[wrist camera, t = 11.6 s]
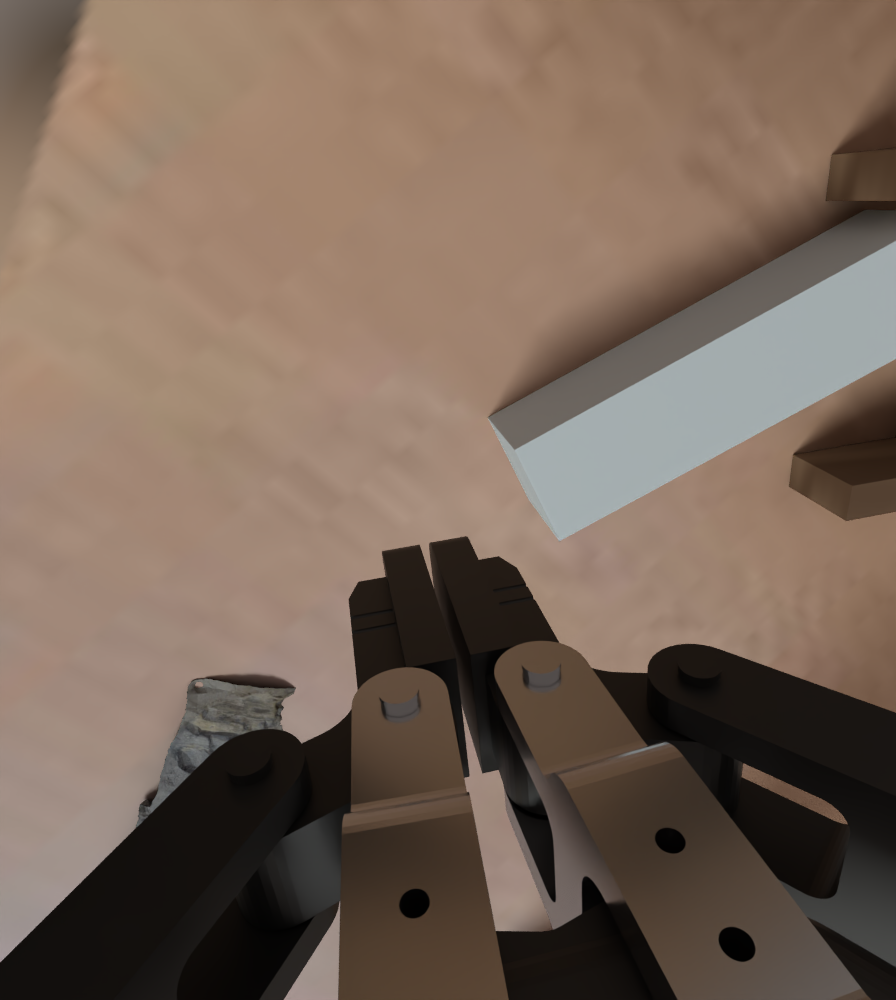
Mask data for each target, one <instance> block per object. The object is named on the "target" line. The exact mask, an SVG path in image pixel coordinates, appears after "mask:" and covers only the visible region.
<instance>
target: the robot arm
mask: <svg viewBox="0 0 896 1000" xmlns="http://www.w3.org/2000/svg"><path fill="white" fill-rule="evenodd" d="M429 550H430V559H431V567H432V576H433V584H434V588H433V585H432V582H431V578H430V575H429V572H428V569H427V566H426V563H425V560H424V557H423V554H422V550H421V547H420V545H415V546H409V547H404V548H398V549H392V550H387V551H382V556H383V563H384V569H385V576H386V577H383V578H377V579H372V580H366V581H361V582H358V584H357V585H356V587H355V589H354V591H353V592H352V594H351V596H350V598H349V607H350V617H351V627H352V637H353V647H354V657H355V667H356V677H357V687H358V691H357V692H356V694H355V696H354V698H353V701H352V709H351V711H350V712H349V713H348V715H347V716H346V717H345V718H344V719H343V720H342V721H341V722H340V723H338V724H337V725H336V726H334V727H333V728H331V729H330V730H328V731H326V732H325V733H323V734H321V735H319V736H317V737H314V738H312V739H310V740H308V741H306V742H304V743H302V744H301V742H300V741H299V740H298V739H297V738H296V737H295V736H293V735H292V734H290V733H288V732H286V731H282V730H278V729H260V730H254V731H250V732H247V733H244V734H241V735H239V736H236V737H234V738H232V739H231V740H229V741H227V742H225V743H224V744H222V745H221V746H220V747H218V748H217V749H216V750H215V751H214V752H213V753H211V754H210V755H209V756H208V757H207V758H206V759H205V760H204V761H203V762H202V763H201V764H200V765H199V766H198V767H197V768H196V769H195V770H194V771H193V772H192V773H191V774H190V775H189V776H188V777H187V778H186V779H185V780H184V781H183V782H182V783H181V784H180V785H179V786H178V787H177V788H176V789H175V790H174V791H173V792H172V793H171V794H170V795H169V796H168V797H167V798H166V799H165V800H164V801H163V802H162V803H161V804H160V805H159V806H158V807H157V808H156V809H155V810H154V811H153V812H152V813H151V814H150V815H149V816H148V817H147V818H146V819H145V820H144V821H143V822H142V823H141V824H140V825H139V826H138V827H137V828H136V829H135V830H134V831H133V832H132V833H131V834H130V835H129V836H128V837H127V838H126V839H125V840H124V841H123V842H122V843H121V844H120V845H118V846H117V847H116V848H115V849H114V850H113V851H112V852H111V853H110V854H109V855H108V856H107V857H106V858H105V859H104V860H103V861H102V862H101V863H100V864H99V865H98V866H97V867H96V868H95V869H94V870H93V871H92V872H91V873H90V874H89V875H88V876H87V877H86V878H85V879H84V880H83V881H82V882H81V883H80V884H79V885H78V886H77V887H76V888H75V889H74V890H73V891H72V892H71V893H70V894H69V895H68V896H67V897H66V898H65V899H64V900H63V901H62V902H61V903H60V904H59V905H58V906H57V907H56V908H55V909H54V910H53V911H52V912H51V913H50V914H49V915H48V916H47V917H46V918H45V919H44V920H43V921H42V922H41V923H40V924H39V925H38V926H37V927H36V928H35V929H34V930H33V931H32V932H31V933H30V934H29V935H28V936H27V937H26V938H25V939H24V940H23V941H22V942H21V943H19V944H18V945H17V946H16V947H15V948H14V949H13V950H12V951H11V952H10V953H9V954H8V955H7V956H6V957H5V958H4V959H3V960H2V961H1V962H0V1000H284V998H285V997H286V995H287V993H288V992H289V990H290V989H291V987H292V986H293V984H294V982H295V981H296V979H297V978H298V976H299V975H300V973H301V971H302V970H303V968H304V967H305V965H306V964H307V962H308V960H309V959H310V957H311V956H312V954H313V953H314V951H315V949H316V948H317V946H318V945H319V943H320V942H321V940H322V938H323V937H324V935H325V934H326V932H327V931H328V929H329V927H330V926H331V924H332V922H333V920H334V918H335V916H336V913H337V911H338V907H339V901H340V939H339V985H338V1000H896V713H895V712H892V711H889V710H886V709H884V708H881V707H878V706H875V705H873V704H870V703H867V702H864V701H862V700H859V699H856V698H853V697H850V696H848V695H845V694H842V693H839V692H837V691H834V690H831V689H828V688H825V687H823V686H820V685H817V684H814V683H812V682H809V681H806V680H803V679H800V678H798V677H795V676H792V675H789V674H787V673H784V672H781V671H778V670H775V669H773V668H770V667H767V666H764V665H762V664H759V663H756V662H753V661H750V660H748V659H745V658H742V657H739V656H737V655H734V654H731V653H728V652H726V651H723V650H720V649H717V648H714V647H710V646H705V645H698V644H681V645H674V646H670V647H667V648H665V649H662V650H661V651H659V652H657V653H656V654H655V655H654V656H653V657H652V659H651V660H650V662H649V665H648V673H622V672H607V671H602V670H597V669H594V668H591V667H590V665H589V664H588V662H587V661H586V660H585V658H584V657H583V656H582V655H581V654H580V653H579V652H577V651H576V650H574V649H573V648H571V647H569V646H566V645H564V644H560V643H559V641H558V640H557V638H556V636H555V634H554V633H553V631H552V629H551V627H550V626H549V624H548V622H547V620H546V618H545V617H544V615H543V613H542V611H541V610H540V608H539V606H538V604H537V603H536V601H535V600H534V599H533V595H532V594H531V592H530V590H529V588H528V587H526V583H525V581H524V580H523V578H522V576H521V574H520V572H519V571H518V569H517V568H516V567H515V566H513V565H512V564H510V563H508V562H507V561H505V560H504V559H502V558H500V557H499V556H498V557H493V558H487V559H482V560H478V558H477V555H476V553H475V551H474V549H473V547H472V545H471V543H470V541H469V539H468V537H467V536H465V537H460V538H454V539H448V540H443V541H437V542H431V543H429ZM461 704H462V706H461ZM462 707H463V710H464V714H465V717H466V720H467V724H468V727H469V730H470V734H471V737H472V740H473V743H474V747H475V750H476V753H477V757H478V760H479V763H480V767H481V770H482V773H486V772H491V771H495V770H499V772H500V775H501V778H502V781H503V784H504V792H505V804H506V811H507V815H508V818H509V820H510V823H511V825H512V828H513V830H514V832H515V835H516V837H517V840H518V842H519V845H520V847H521V850H522V852H523V855H524V857H525V860H526V862H527V865H528V867H529V870H530V872H531V874H532V877H533V879H534V882H535V884H536V887H537V889H538V892H539V894H540V897H541V899H542V902H543V904H544V907H545V909H546V912H547V914H548V917H549V919H550V922H551V925H552V928H553V930H550V931H545V932H518V931H496V930H495V925H494V919H493V914H492V909H491V904H490V898H489V893H488V888H487V882H486V877H485V872H484V867H483V861H482V856H481V851H480V846H479V840H478V835H477V830H476V825H475V819H474V814H473V809H472V804H471V799H470V795H469V792H467V791H466V785H465V780H464V778H465V777H469V767H468V758H467V750H466V741H465V732H464V723H463V714H462ZM743 763H745V764H747V765H749V766H751V767H753V768H756V769H758V770H760V771H762V772H764V773H766V774H769V775H771V776H773V777H775V778H777V779H780V780H782V781H784V782H786V783H788V784H791V785H793V786H795V787H797V788H799V789H801V790H804V791H806V792H808V793H810V794H812V795H815V796H817V797H819V798H821V799H823V800H825V801H827V802H828V803H830V804H831V805H833V806H834V807H835V808H836V809H837V810H838V811H839V812H840V813H841V814H842V815H843V816H844V818H845V819H846V821H847V823H848V825H846V824H842V823H838V822H836V821H833V820H831V819H829V818H827V817H825V816H823V815H821V814H819V813H816V812H814V811H812V810H810V809H808V808H806V807H804V806H802V805H799V804H797V803H795V802H793V801H791V800H789V799H787V798H785V797H782V796H780V795H778V794H776V793H774V792H772V791H770V790H768V789H765V788H763V787H761V786H759V785H757V784H755V783H753V782H751V781H749V780H746V779H744V778H742V777H741V776H742V768H743Z"/></svg>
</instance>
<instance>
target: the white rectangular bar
mask: <svg viewBox="0 0 896 1000" xmlns="http://www.w3.org/2000/svg"><path fill="white" fill-rule="evenodd" d="M895 359H896V210H864V211H862V212H860V213H858V214H856V215H855V216H853V217H851V218H849V219H847V220H845V221H844V222H842V223H840V224H838V225H836V226H835V227H833V228H831V229H829V230H827V231H826V232H824V233H822V234H820V235H818V236H816V237H815V238H813V239H811V240H809V241H807V242H806V243H804V244H802V245H800V246H798V247H796V248H795V249H793V250H791V251H789V252H787V253H786V254H784V255H782V256H780V257H778V258H776V259H775V260H773V261H771V262H769V263H767V264H766V265H764V266H762V267H760V268H758V269H756V270H755V271H753V272H751V273H749V274H747V275H746V276H744V277H742V278H740V279H738V280H736V281H735V282H733V283H731V284H729V285H727V286H726V287H724V288H722V289H720V290H718V291H717V292H715V293H713V294H711V295H709V296H707V297H706V298H704V299H702V300H700V301H698V302H697V303H695V304H693V305H691V306H689V307H687V308H686V309H684V310H682V311H680V312H678V313H677V314H675V315H673V316H671V317H669V318H667V319H666V320H664V321H662V322H660V323H658V324H657V325H655V326H653V327H651V328H649V329H647V330H646V331H644V332H642V333H640V334H638V335H637V336H635V337H633V338H631V339H629V340H627V341H626V342H624V343H622V344H620V345H618V346H617V347H615V348H613V349H611V350H609V351H608V352H606V353H604V354H602V355H600V356H598V357H597V358H595V359H593V360H591V361H589V362H588V363H586V364H584V365H582V366H580V367H578V368H577V369H575V370H573V371H571V372H569V373H568V374H566V375H564V376H562V377H560V378H558V379H557V380H555V381H553V382H551V383H549V384H548V385H546V386H544V387H542V388H540V389H538V390H537V391H535V392H533V393H531V394H529V395H528V396H526V397H524V398H522V399H520V400H519V401H517V402H515V403H513V404H511V405H509V406H508V407H506V408H504V409H502V410H500V411H499V412H497V413H495V414H493V415H491V416H489V417H488V419H489V421H490V423H491V425H492V427H493V429H494V431H495V433H496V435H497V437H498V439H499V441H500V443H501V445H502V447H503V449H504V451H505V453H506V455H507V457H508V459H509V461H510V463H511V465H512V467H513V469H514V471H515V473H516V475H517V477H518V479H519V481H520V483H521V485H522V487H523V489H524V491H525V493H526V495H527V497H528V499H529V501H530V502H531V503H532V505H533V506H534V507H535V509H536V510H537V511H538V513H539V514H540V515H541V517H542V518H543V520H544V521H545V522H546V524H547V525H548V526H549V528H550V529H551V530H552V532H553V533H554V535H555V536H556V537H557V539H558V540H559V541H561V540H562V539H564V538H566V537H568V536H570V535H572V534H573V533H575V532H577V531H579V530H581V529H583V528H585V527H586V526H588V525H590V524H592V523H594V522H596V521H597V520H599V519H601V518H603V517H605V516H607V515H609V514H610V513H612V512H614V511H616V510H618V509H620V508H621V507H623V506H625V505H627V504H629V503H631V502H633V501H634V500H636V499H638V498H640V497H642V496H644V495H645V494H647V493H649V492H651V491H653V490H655V489H657V488H658V487H660V486H662V485H664V484H666V483H668V482H669V481H671V480H673V479H675V478H677V477H679V476H681V475H682V474H684V473H686V472H688V471H690V470H692V469H693V468H695V467H697V466H699V465H701V464H703V463H704V462H706V461H708V460H710V459H712V458H714V457H716V456H717V455H719V454H721V453H723V452H725V451H727V450H728V449H730V448H732V447H734V446H736V445H738V444H740V443H741V442H743V441H745V440H747V439H749V438H751V437H752V436H754V435H756V434H758V433H760V432H762V431H764V430H765V429H767V428H769V427H771V426H773V425H775V424H776V423H778V422H780V421H782V420H784V419H786V418H788V417H789V416H791V415H793V414H795V413H797V412H799V411H800V410H802V409H804V408H806V407H808V406H810V405H811V404H813V403H815V402H817V401H819V400H821V399H823V398H824V397H826V396H828V395H830V394H832V393H834V392H835V391H837V390H839V389H841V388H843V387H845V386H847V385H848V384H850V383H852V382H854V381H856V380H858V379H859V378H861V377H863V376H865V375H867V374H869V373H871V372H872V371H874V370H876V369H878V368H880V367H882V366H883V365H885V364H887V363H889V362H891V361H893V360H895Z"/></svg>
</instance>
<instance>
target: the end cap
mask: <svg viewBox="0 0 896 1000" xmlns="http://www.w3.org/2000/svg"><path fill="white" fill-rule="evenodd" d="M826 201H896V148H889V149H880V150H871V151H862V152H853V153H843V154H834V155H832V157H831V165H830V173H829V181H828V189H827V196H826ZM789 487H791V488H792V489H794V490H796V491H797V492H799V493H801V494H802V495H804V496H806V497H807V498H809V499H811V500H812V501H814V502H816V503H817V504H819V505H821V506H822V507H824V508H826V509H827V510H829V511H831V512H832V513H834V514H836V515H837V516H839V517H841V518H842V519H844V520H846V521H849V520H854V519H859V518H865V517H870V516H875V515H881V514H886V513H891V512H896V437H894V438H888V439H882V440H877V441H871V442H865V443H859V444H853V445H847V446H842V447H836V448H830V449H824V450H818V451H812V452H807V453H801V454H795V455H793V460H792V468H791V476H790V484H789Z"/></svg>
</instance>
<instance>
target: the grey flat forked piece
mask: <svg viewBox="0 0 896 1000" xmlns="http://www.w3.org/2000/svg"><path fill="white" fill-rule="evenodd" d="M196 682H202V683H203V687H200V688H195V684H196ZM295 689H296V688H289V687H288V688H287V689H282V688H279V689H275V688H258V687H252V686H246V685H235V684H230V683H228V682H226V683H225V682H221V681H218V680H212V679H203V680H202V679H199V680H194V681H193V682H191V683H190V685H189V686H188V691H187V694H188V695H187V704H186V713H185V716H184V717H183V720H182V722H181V725H180V729H179V731H178V734H177V735H176V737H175V740H174V741H173V742H172V743H171V746H170V748H169V749H168V755H167V756H166V759H165V764H164V767H163V770H162V773H161V776H160V778H161V779H160V782H159V788H158V792H157V795H156V797H155V798H154V800H153V802H152V804H151V807H150V803H151V802H150V801H149V800H145V801H144V802H143V803H141V804H140V807H139V815H138V817H139V820H138V822H137V825H136V828H137V827H138V826H139V825H140V824H141V823H142V822H143V821H144V820H145V819H146V818H147V817H148V816H149V815H150V814H151V813H152V812H153V811H154V810H155V809H156V808H157V807H158V806H159V805H160V804H161V803H162V802H163V801H164V800H165V799H166V798H167V797H168V796H169V795H170V794H171V793H172V792H173V791H174V790H175V789H176V788H177V787H178V786H179V785H180V784H181V783H182V782H183V781H184V780H185V779H186V778H187V777H188V776H189V775H190V774H191V773H192V772H193V771H194V770H195V769H196V768H197V767H198V766H199V765H200V764H201V763H202V762H203V761H204V760H205V759H206V758H207V757H208V756H209V755H210V754H211V753H213V752H214V751H215V750H216V749H217V748H218V747H220V746H221V745H222V744H224V743H225V742H227V741H229V740H231V739H232V738H234V737H236V736H239V735H241V734H244V733H247V732H250V731H254V730H260V729H278V730H282V731H283V729H282V725H280V724H281V723H280V721H281V720H282V719H281V718H282V717H281V715H280V714H281V711H282V710H283V708H284V707H283V706H282V705H281V703H282V702H283V700H284V699H285V698H286V697H289V696H290V695H292V694H294V691H295Z"/></svg>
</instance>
